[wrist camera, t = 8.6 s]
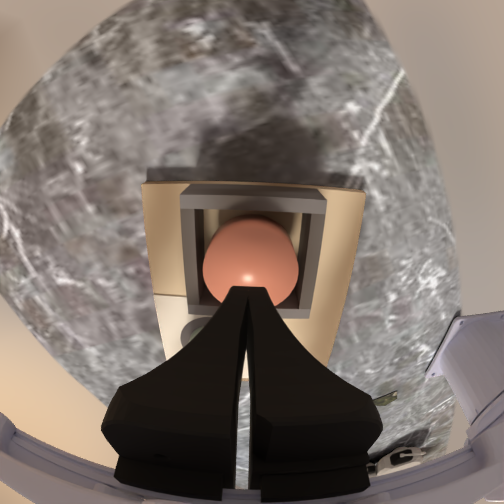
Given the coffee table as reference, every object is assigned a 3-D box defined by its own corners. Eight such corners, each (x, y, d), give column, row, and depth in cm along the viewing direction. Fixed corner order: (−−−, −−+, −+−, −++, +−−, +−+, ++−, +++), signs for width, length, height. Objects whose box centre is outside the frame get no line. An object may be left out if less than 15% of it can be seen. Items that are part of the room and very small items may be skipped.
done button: (297, 216, 15) (303, 230, 13) (289, 291, 16) (292, 312, 15) (207, 212, 14) (200, 226, 13) (210, 288, 16) (205, 309, 15)
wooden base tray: (361, 189, 16) (383, 205, 13) (320, 373, 23) (326, 403, 20) (146, 181, 16) (123, 195, 13) (172, 368, 23) (164, 397, 20)
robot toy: (339, 475, 39) (415, 455, 35) (340, 494, 35) (419, 474, 31) (331, 457, 34) (423, 431, 31) (333, 481, 30) (430, 455, 27)
